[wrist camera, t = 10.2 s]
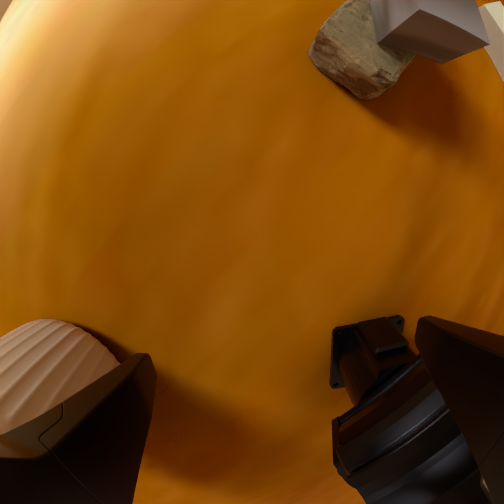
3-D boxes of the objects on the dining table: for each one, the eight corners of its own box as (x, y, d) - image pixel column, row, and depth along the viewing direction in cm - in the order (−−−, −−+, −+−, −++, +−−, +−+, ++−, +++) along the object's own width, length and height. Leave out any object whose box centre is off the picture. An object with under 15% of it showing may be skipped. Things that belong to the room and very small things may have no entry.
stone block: (419, 28, 15) (450, 8, 11) (362, 110, 18) (395, 95, 13) (366, -14, 14) (389, -42, 10) (297, 61, 17) (313, 32, 12)
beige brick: (516, 70, 15) (538, 66, 12) (502, 81, 16) (526, 76, 12) (479, 10, 14) (499, 1, 10) (461, 16, 14) (483, 4, 10)
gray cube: (441, 64, 12) (490, 44, 7) (376, 43, 12) (419, 9, 7) (428, 7, 11) (466, -20, 6) (365, -14, 11) (396, -54, 6)
